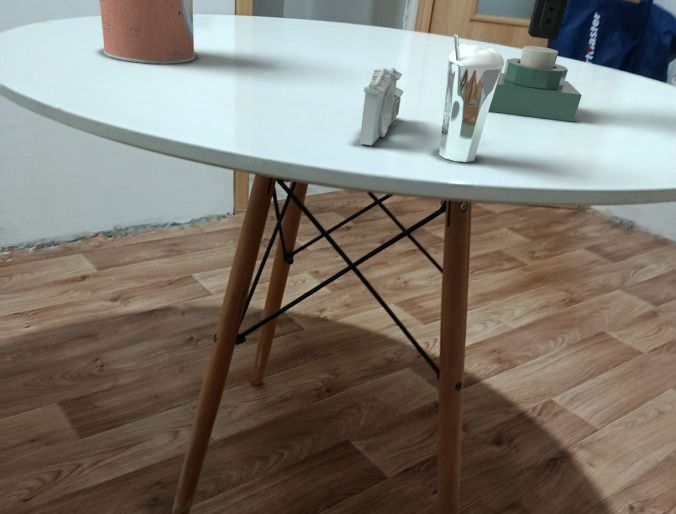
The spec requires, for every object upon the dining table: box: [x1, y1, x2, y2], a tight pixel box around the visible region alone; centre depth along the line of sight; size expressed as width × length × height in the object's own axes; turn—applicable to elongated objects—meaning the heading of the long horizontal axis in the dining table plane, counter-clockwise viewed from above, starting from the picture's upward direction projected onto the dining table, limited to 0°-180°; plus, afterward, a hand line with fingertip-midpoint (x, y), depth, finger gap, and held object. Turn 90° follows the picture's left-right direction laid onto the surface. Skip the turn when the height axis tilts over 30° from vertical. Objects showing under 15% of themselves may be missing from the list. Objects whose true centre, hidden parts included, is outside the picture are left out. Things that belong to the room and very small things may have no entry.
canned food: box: [99, 0, 196, 65], centre depth 79 cm, size 11×11×12 cm
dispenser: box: [488, 57, 582, 123], centre depth 76 cm, size 10×8×5 cm
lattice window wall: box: [359, 67, 405, 146], centre depth 60 cm, size 12×2×6 cm, turn 164°
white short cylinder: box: [519, 45, 559, 69], centre depth 74 cm, size 4×4×2 cm
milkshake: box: [439, 34, 505, 163], centre depth 54 cm, size 4×5×10 cm
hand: (542, 36), depth 73 cm, fingers closed
